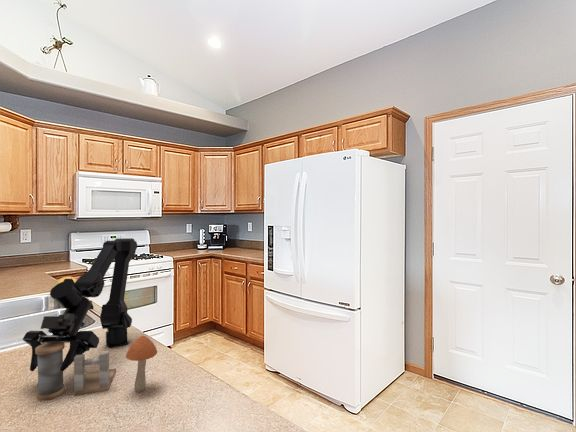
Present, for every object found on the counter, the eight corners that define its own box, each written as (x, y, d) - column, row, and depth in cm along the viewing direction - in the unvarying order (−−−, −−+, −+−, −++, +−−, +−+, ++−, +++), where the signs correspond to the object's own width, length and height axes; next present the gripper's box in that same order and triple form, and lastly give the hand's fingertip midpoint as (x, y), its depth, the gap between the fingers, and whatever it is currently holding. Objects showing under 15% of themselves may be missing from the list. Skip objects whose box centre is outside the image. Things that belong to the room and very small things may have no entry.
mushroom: (164, 384, 93) (163, 332, 93) (143, 400, 85) (142, 342, 85) (141, 380, 96) (140, 328, 95) (119, 394, 88) (118, 339, 88)
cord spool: (65, 384, 93) (64, 339, 93) (65, 395, 88) (64, 347, 88) (36, 392, 89) (35, 344, 89) (35, 403, 84) (34, 353, 84)
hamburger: (82, 288, 210) (82, 274, 209) (72, 292, 198) (72, 278, 197) (62, 288, 208) (62, 275, 208) (51, 293, 196) (51, 279, 196)
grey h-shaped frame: (86, 375, 98) (85, 342, 98) (116, 371, 101) (115, 339, 100) (74, 395, 88) (73, 358, 87) (107, 390, 90) (107, 354, 90)
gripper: (27, 302, 92) (-9, 359, 81) (92, 302, 92) (65, 359, 81) (48, 321, 100) (18, 374, 89) (108, 321, 100) (86, 375, 89)
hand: (46, 370), depth 87 cm, fingers open, 8 cm apart
